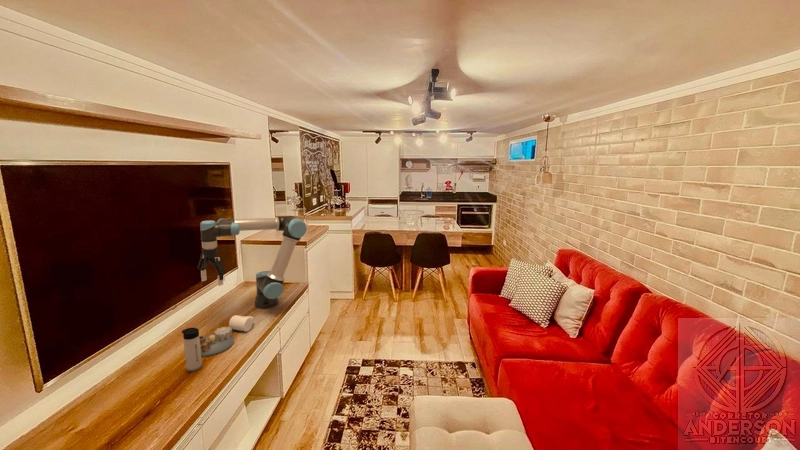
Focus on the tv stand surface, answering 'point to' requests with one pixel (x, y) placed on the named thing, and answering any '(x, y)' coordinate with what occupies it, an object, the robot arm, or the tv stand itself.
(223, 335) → the carrier
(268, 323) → the tv stand surface
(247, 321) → the mug
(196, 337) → the travel mug
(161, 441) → the tv stand surface
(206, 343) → the oak gear
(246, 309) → the tv stand surface
